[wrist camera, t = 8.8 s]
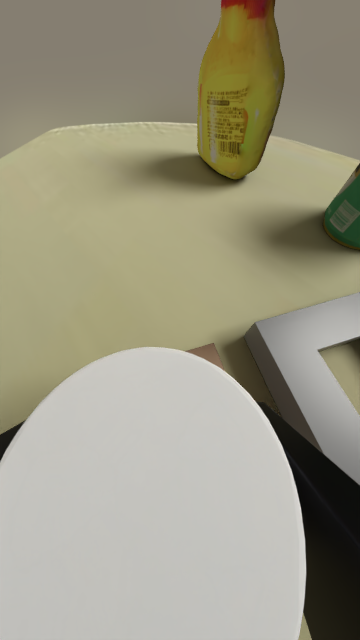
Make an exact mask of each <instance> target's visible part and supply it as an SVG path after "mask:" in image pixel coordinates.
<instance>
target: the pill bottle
mask: <svg viewBox="0 0 360 640" xmlns="http://www.w3.org/2000/svg"><path fill="white" fill-rule="evenodd" d="M305 583H306V553H305V537H304V529H303V521H302V513H301V507H300V502H299V497H298V493H297V488H296V485H295V481H294V478H293V474H292V470H291V468H290V465H289V463H288V460H287V457H286V455H285V452H284V450H283V447H282V445H281V443H280V441H279V439H278V437H277V435H276V433H275V431H274V429H273V427H272V425H271V424H270V422H269V420H268V419H267V417H266V416H265V414H264V413H263V411H262V410H261V408H260V407H259V405H258V404H257V403H256V402H255V400H254V399H253V398H252V397H251V395H250V394H249V393H248V392H247V391H246V390H245V389H244V388H243V387H242V386H241V385H240V384H239V383H238V382H237V381H236V380H235V379H234V378H232V377H231V376H230V375H229V374H227V373H226V372H225V371H223V370H222V369H221V368H219V367H218V366H216V365H214V364H212V363H210V362H209V361H207V360H205V359H203V358H201V357H198V356H196V355H194V354H191V353H188V352H184V351H181V350H177V349H170V348H162V347H142V348H135V349H129V350H123V351H119V352H116V353H114V354H111V355H108V356H105V357H103V358H100V359H98V360H96V361H94V362H92V363H90V364H88V365H86V366H84V367H83V368H81V369H80V370H78V371H76V372H75V373H74V374H72V375H71V376H70V377H68V378H67V379H65V380H64V381H62V382H61V383H60V384H59V385H58V386H57V387H56V388H55V389H53V390H52V391H51V392H50V393H49V394H48V395H47V396H46V397H45V398H44V399H43V400H42V401H41V403H40V404H39V405H38V406H37V407H36V409H35V410H34V411H33V412H32V413H31V415H30V416H29V417H28V418H27V419H26V421H25V422H24V424H23V425H22V426H21V428H20V429H19V431H18V432H17V433H16V435H15V437H14V438H13V440H12V441H11V443H10V445H9V446H8V448H7V450H6V451H5V453H4V455H3V457H2V459H1V461H0V640H298V638H299V633H300V627H301V621H302V614H303V608H304V598H305Z"/></svg>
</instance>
